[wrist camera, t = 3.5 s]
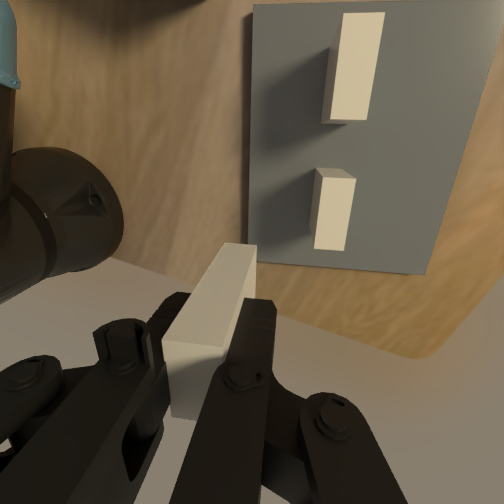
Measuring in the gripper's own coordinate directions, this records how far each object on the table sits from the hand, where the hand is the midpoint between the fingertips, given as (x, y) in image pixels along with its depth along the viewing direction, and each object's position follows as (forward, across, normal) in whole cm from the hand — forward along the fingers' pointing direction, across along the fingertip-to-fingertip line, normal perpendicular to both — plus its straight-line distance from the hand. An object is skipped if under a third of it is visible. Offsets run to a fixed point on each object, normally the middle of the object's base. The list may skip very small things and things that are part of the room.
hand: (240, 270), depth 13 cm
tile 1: (+18, +6, +10) cm, 21 cm away
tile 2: (+18, +6, 0) cm, 19 cm away
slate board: (+19, +8, +4) cm, 21 cm away
